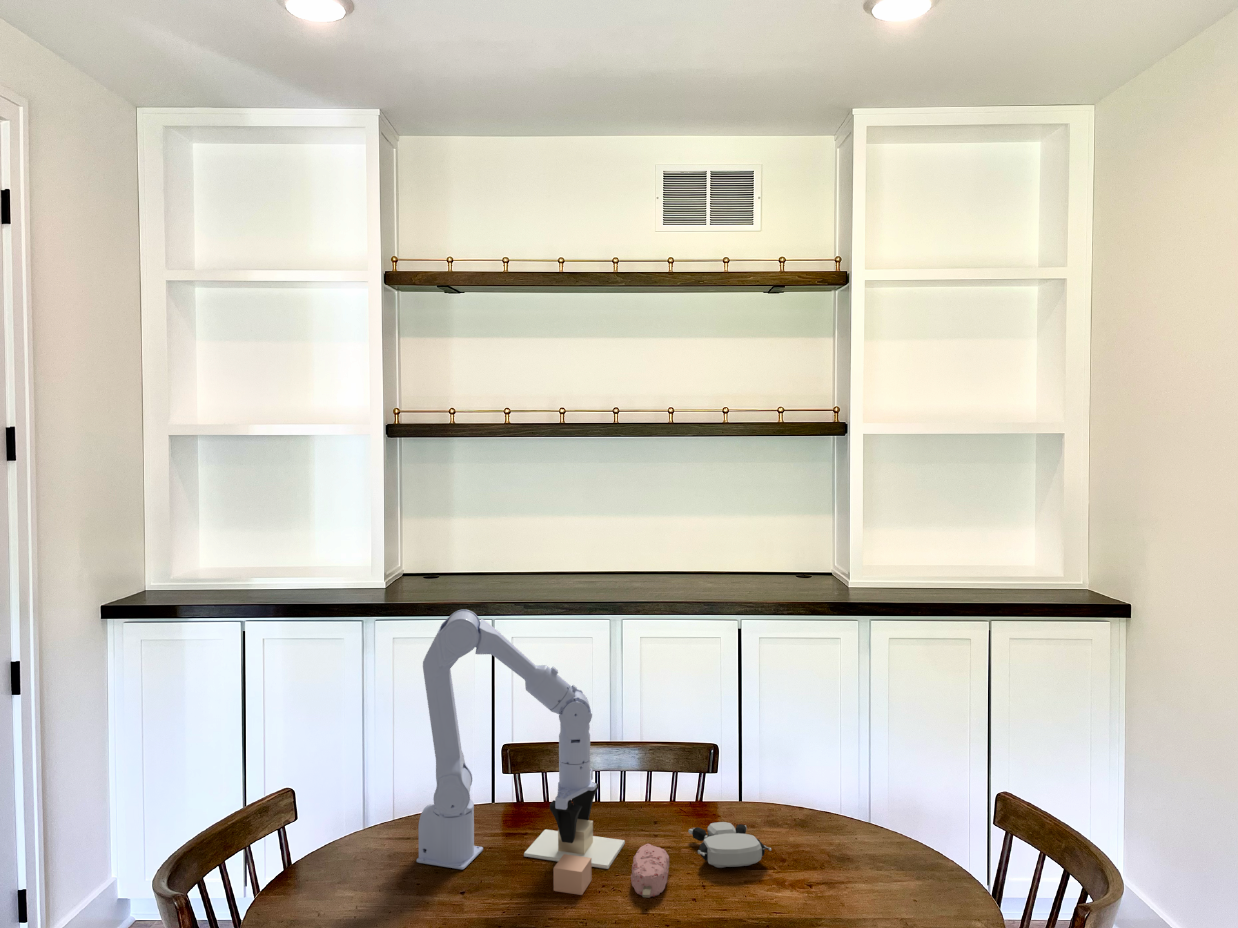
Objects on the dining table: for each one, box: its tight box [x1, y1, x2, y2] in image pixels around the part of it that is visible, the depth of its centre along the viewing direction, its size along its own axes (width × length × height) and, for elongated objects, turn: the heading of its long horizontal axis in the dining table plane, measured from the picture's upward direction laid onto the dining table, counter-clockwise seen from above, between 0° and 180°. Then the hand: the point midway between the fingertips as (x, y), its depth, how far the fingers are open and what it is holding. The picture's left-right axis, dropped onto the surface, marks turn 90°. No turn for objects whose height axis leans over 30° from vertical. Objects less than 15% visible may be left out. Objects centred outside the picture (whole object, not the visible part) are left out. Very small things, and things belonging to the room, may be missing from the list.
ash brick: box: [557, 819, 594, 854], centre depth 157 cm, size 5×5×4 cm
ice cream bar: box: [630, 843, 670, 899], centre depth 144 cm, size 6×4×15 cm
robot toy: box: [688, 821, 772, 869], centre depth 154 cm, size 12×4×15 cm
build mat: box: [523, 829, 626, 870], centre depth 157 cm, size 16×10×1 cm, turn 73°
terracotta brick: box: [553, 854, 593, 896], centre depth 144 cm, size 5×5×4 cm
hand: (575, 832), depth 157 cm, fingers open, 7 cm apart
